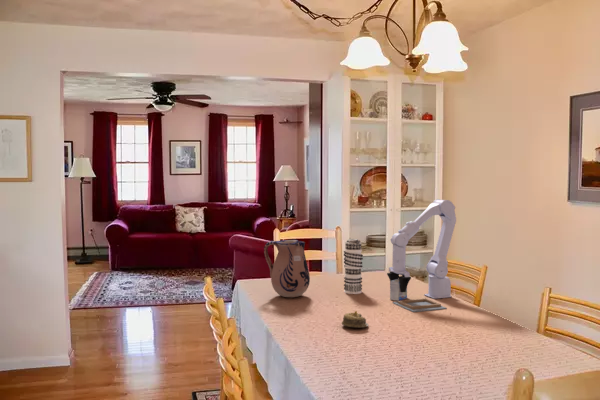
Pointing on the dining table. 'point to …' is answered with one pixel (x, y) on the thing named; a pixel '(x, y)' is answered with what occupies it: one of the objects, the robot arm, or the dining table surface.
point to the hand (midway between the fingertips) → (398, 290)
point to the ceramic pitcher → (288, 268)
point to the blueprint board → (419, 305)
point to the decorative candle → (353, 266)
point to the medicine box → (396, 291)
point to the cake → (354, 320)
